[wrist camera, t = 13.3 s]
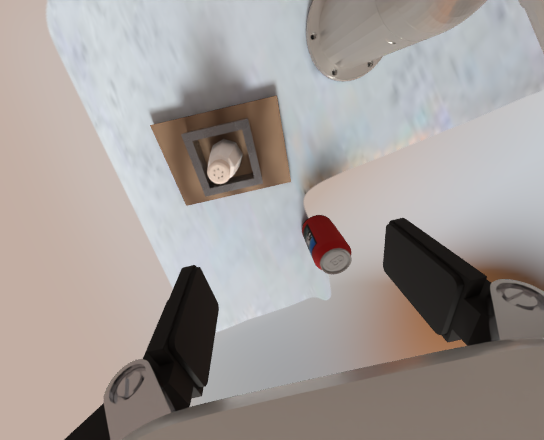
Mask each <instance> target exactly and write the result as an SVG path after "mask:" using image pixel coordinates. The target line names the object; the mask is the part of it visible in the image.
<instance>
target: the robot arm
mask: <svg viewBox="0 0 544 440" xmlns="http://www.w3.org/2000/svg"><path fill="white" fill-rule="evenodd" d="M486 1H487V0H313V1H312V4H311V6H310V10H309V14H308V18H307V27H306V37H307V45H308V50H309V53H310V56H311V59H312V61H313V63H314V64H315V66H316V67H317V69H318V70H319V71H320V72H321V73H322V74H323V75H325V76H326V77H328V78H330V79H332V80H335V81H342V82H344V81H351V80H354V79H357V78H359V77H362V76H364V75H365V74H366V73H368V72H369V71H371V70H372V69H373V68H374V67H375V66H376V65H377V64H378V62H379V61H380V60H381V58H382V57H383V56H385V55H387V54H390V53H392V52H395V51H398V50H400V49H403V48H405V47H408V46H411V45H413V44H416V43H418V42H421V41H423V40H426V39H429V38H431V37H434V36H436V35H439V34H441V33H444V32H446V31H448V30H450V29H452V28H454V27H455V26H457V25H458V24H460V23H462V22H463V21H464V20H466V19H467V18H468V17H470V16H471V15H472V14H473V13H474V12H476V11H477V10H478V9H479V8H480V7H481V6H482V5H483V4H484V3H485V2H486ZM518 1H519V3H520V5H521V6H522V7H523V8H525V11H526V13H527V15H528V18H529V20H530V23H531V25H532V27H533V30H534V32H535V34H536V37H537V39H538V42H539V44H540V46H541V49H542V51H543V54H544V0H518ZM311 36H313V37H314V39H313V40H312V39H311ZM368 63H369V66H368ZM332 71H334V75H332ZM384 248H385V249H384V260H383V268H384V271H385V272H386V274H387V275H388V276H389V277H390V279H391V280H392V281H393V282H394V283H395V285H396V286H397V287H398V288H399V289H400V291H401V292H402V293H403V294H404V295H405V297H406V298H407V299H408V300H409V301H410V303H411V304H412V305H413V306H414V308H415V309H416V310H417V311H418V312H419V314H420V315H421V316H422V317H423V318H424V319H425V321H426V322H427V323H428V324H429V325H430V327H431V328H432V329H433V330H434V331H435V333H437V334H439V335H442V336H443V338H444V339H445V340H446V341H447V342H452V341H456V340H461V339H462V341H463V342H464V343H465V344H466V345H467V346H465V347H460V348H454V349H449V350H444V351H439V352H434V353H430V354H425V355H420V356H415V357H411V358H406V359H401V360H397V361H392V362H387V363H382V364H378V365H373V366H369V367H364V368H359V369H355V370H350V371H346V372H341V373H336V374H332V375H327V376H323V377H318V378H313V379H309V380H304V381H300V382H296V383H292V384H287V385H282V386H278V387H273V388H268V389H265V390H260V391H255V392H251V393H246V394H242V395H237V396H233V397H229V398H225V399H221V400H217V401H212V402H208V403H204V404H200V405H196V406H192V407H189V406H190V402H191V398H195V397H200V396H202V393H203V387H204V386H206V385H207V382H208V376H209V370H210V363H211V357H212V350H213V343H214V336H215V331H216V324H217V317H218V311H219V306H218V302H217V300H216V298H215V296H214V294H213V292H212V290H211V288H210V286H209V284H208V282H207V280H206V278H205V276H204V274H203V272H202V270H201V268H200V267H196V266H195V265H192V266H188V267H184V268H182V269H181V272H180V274H179V277H178V279H177V281H176V284H175V286H174V288H173V291H172V293H171V296H170V298H169V300H168V301H167V303H166V305H165V308H164V310H163V312H162V315H161V317H160V320H159V322H158V324H157V327H156V329H155V331H154V334H153V336H152V339H151V341H150V343H149V346H148V348H147V351H146V353H145V355H144V357H143V359H139V360H135V361H133V362H130V363H129V364H128V365H126V366H124V367H123V368H122V369H121V370H120V371H119V372H118V373H117V374H116V375H115V376H114V378H113V379H112V380H111V382H110V383H109V385H108V387H107V389H106V391H105V394H104V403H103V404H102V405H101V406H100V407H99V408H98V409H97V410H96V411H95V412H94V413H93V414H92V415H91V416H89V417H88V418H87V419H86V420H85V421H84V422H83V423H82V424H81V425H80V426H79V427H77V428H76V429H75V430H74V431H73V432H72V433H71V434H70V435H69V436H68V437H67V438H66V439H65V440H544V291H542V290H540V289H538V288H536V287H534V286H532V285H529V284H527V283H523V282H520V281H516V280H509V279H503V280H502V279H500V280H496V281H494V282H493V283H491V282H489V281H488V280H487V279H486V278H487V276H485V275H484V274H483V273H481V272H480V271H478V270H477V269H476V268H474V267H473V266H471V265H470V264H469V263H467V262H465V261H464V260H463V259H461V258H460V257H459V256H457V255H456V254H454V253H453V252H451V251H450V250H449V249H447V248H446V247H445V246H443V245H441V244H440V243H439V242H437V241H436V240H435V239H433V238H432V237H430V236H429V235H428V234H426V233H425V232H423V231H422V230H421V229H419V228H418V227H416V226H415V225H413V224H412V223H411V222H409V221H408V220H406V219H405V218H400V219H396V220H391V221H390V222H389V224H388V225H387V226H386V234H385V247H384Z"/></svg>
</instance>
